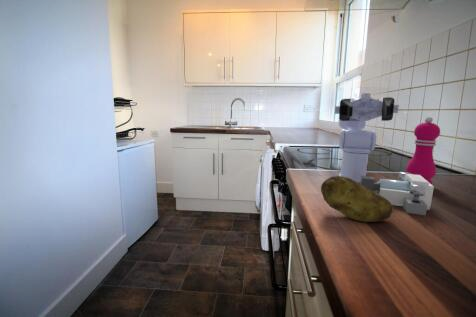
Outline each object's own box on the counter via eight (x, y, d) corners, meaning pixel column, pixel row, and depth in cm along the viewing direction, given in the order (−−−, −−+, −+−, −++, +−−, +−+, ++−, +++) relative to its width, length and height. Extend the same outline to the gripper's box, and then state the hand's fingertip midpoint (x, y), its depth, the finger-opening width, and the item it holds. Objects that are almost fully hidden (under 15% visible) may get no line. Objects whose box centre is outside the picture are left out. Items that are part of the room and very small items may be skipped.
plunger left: (395, 186, 68) (398, 171, 67) (408, 188, 67) (410, 172, 66) (397, 189, 66) (400, 173, 65) (410, 191, 65) (413, 175, 64)
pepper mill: (423, 182, 79) (434, 117, 76) (439, 189, 72) (452, 117, 69) (399, 181, 80) (408, 116, 76) (412, 188, 73) (423, 117, 69)
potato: (385, 234, 45) (391, 190, 43) (314, 214, 53) (317, 177, 51) (392, 219, 51) (397, 180, 50) (328, 203, 59) (331, 170, 58)
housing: (373, 189, 71) (376, 167, 69) (416, 194, 67) (420, 171, 66) (381, 209, 56) (384, 182, 55) (436, 217, 53) (441, 188, 52)
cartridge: (358, 192, 67) (360, 174, 66) (414, 199, 62) (417, 180, 61) (359, 196, 63) (362, 178, 62) (418, 204, 59) (421, 185, 58)
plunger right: (406, 201, 57) (408, 183, 56) (421, 203, 56) (424, 184, 55) (409, 205, 55) (412, 186, 54) (424, 207, 54) (428, 188, 53)
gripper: (335, 94, 72) (336, 94, 60) (394, 92, 68) (408, 91, 55) (334, 119, 74) (334, 124, 62) (391, 119, 69) (404, 124, 57)
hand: (369, 110), depth 59 cm, fingers open, 7 cm apart
